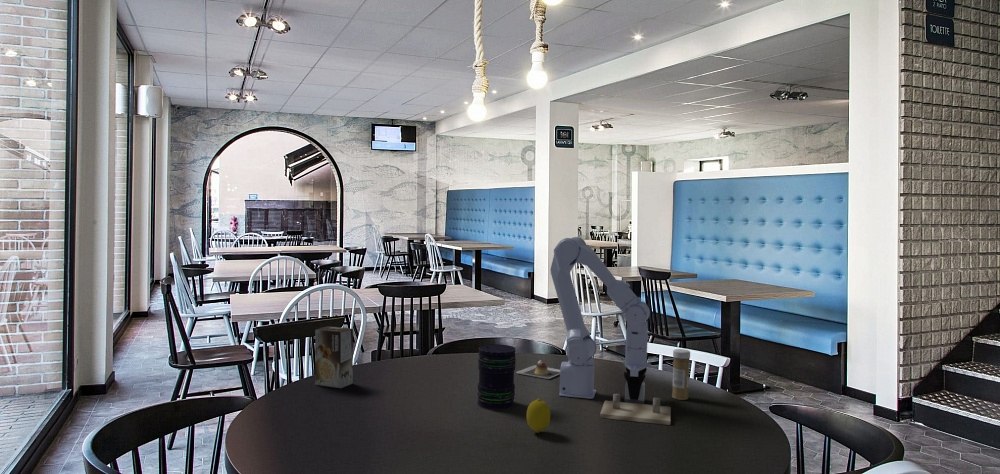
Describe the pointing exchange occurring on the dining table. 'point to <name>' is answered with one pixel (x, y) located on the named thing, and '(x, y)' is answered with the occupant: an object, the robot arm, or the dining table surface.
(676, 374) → the sprinkles bottle
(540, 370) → the dessert
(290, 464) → the dining table surface
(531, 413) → the lemon
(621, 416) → the pin board
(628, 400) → the sleeve
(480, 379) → the storage jar
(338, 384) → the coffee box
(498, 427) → the dining table surface
